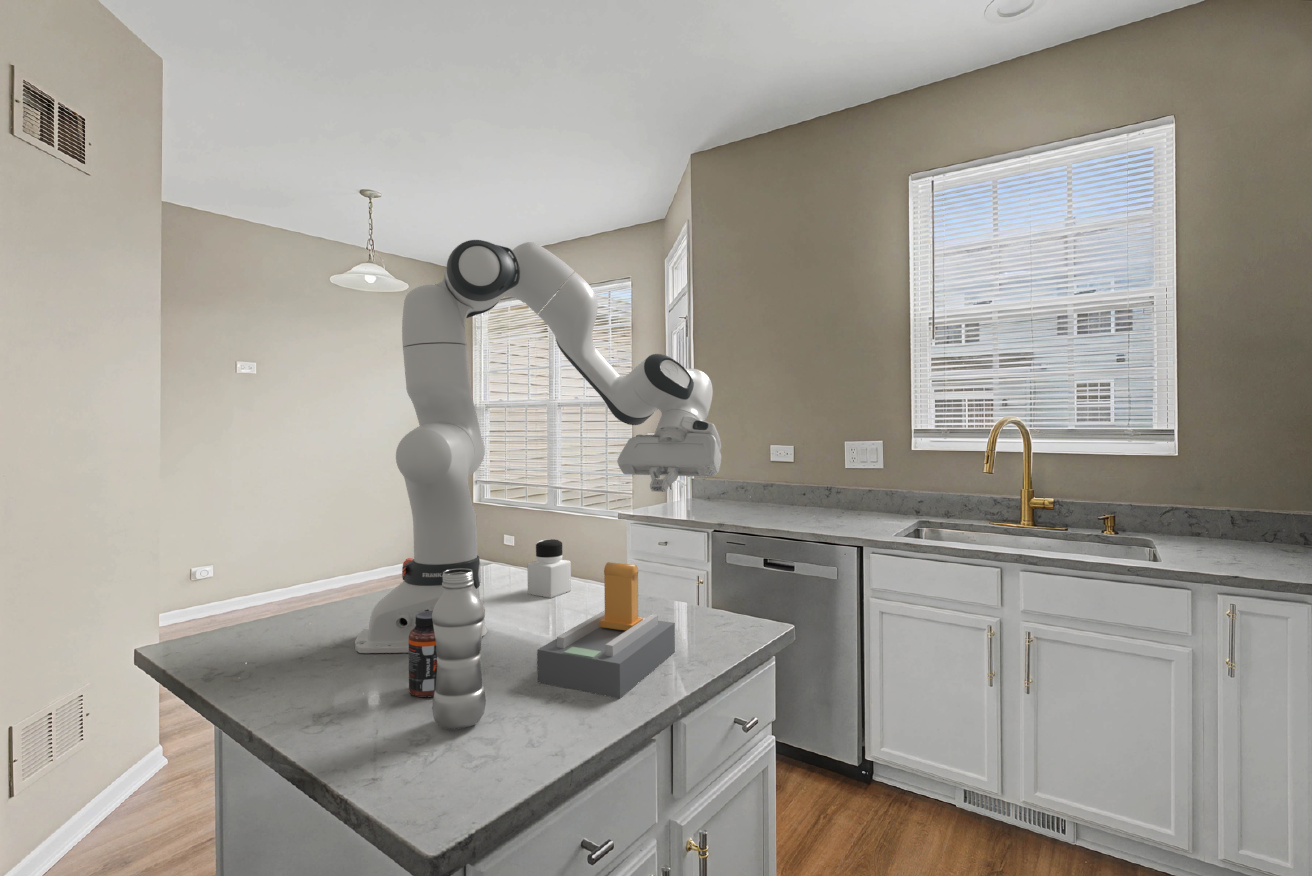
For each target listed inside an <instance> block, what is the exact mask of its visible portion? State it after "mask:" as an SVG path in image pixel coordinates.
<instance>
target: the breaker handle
mask: <svg viewBox="0 0 1312 876" xmlns="http://www.w3.org/2000/svg"><path fill="white" fill-rule="evenodd" d="M603 575H604V582H603V583H604V585H603V586H604V587H603V588H604V610H605V618H604V619H602V620H600V627H604V628H611V629H618V630H625V631H627V630H628V629H630V628H631V627H633V626H634V625H636V624H638V623H639V622H641V621H642V620H643V618H644V617H640V618H638V617H639V567H638V565H637V564H630V563H629V564H628V563H621V562H618V563H617V562H609V561H608V562H606V563H605V565H604V568H603Z"/></svg>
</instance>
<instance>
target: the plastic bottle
mask: <svg viewBox="0 0 1312 876" xmlns="http://www.w3.org/2000/svg"><path fill="white" fill-rule="evenodd" d="M473 585H474V580H473V572H472V570H471V569H451V570H447V571H444V572H443V582H442V587H443V588H445V590H444V593H443V594H442V595H441V597H440V598H439V600H438V601H437V603H436V605H435V607H434V609H433V613H432V620H433V627H434V633H435V639H436V651H437V676H436V688H435V689H436V690H435V692H434V696H433V698H432V706H431V710H432V715H433V719H434V721H435V723H436V724H437V725H438V727H440V728H442V729H445V730H462V729H466V728H470V727H472V726H474V725H476V724H478V723H479V722H480V720H481V719H482V717H483V716H484V714H485V710H486V704H487V698H486V691H485V688H484V684H483V673H482V662H481V658H482V656H481V655H482V653H481V650H482V637H483V636H482V631H483V624H484V620H485V616H486V609H485V605H484V603H483V601H482V599H481V597H480V598H479V597H478V595H477V594H476V593H475V592H474V591H473V590H472V587H471V586H473Z"/></svg>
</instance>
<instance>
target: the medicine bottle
mask: <svg viewBox="0 0 1312 876" xmlns="http://www.w3.org/2000/svg"><path fill="white" fill-rule="evenodd" d="M535 559H536V560H534V561H532V562H528V563H527V572H526V573H527V594H528V595H531V594H532V596H537V597H542V596H543V598H547V597H548V598H547V599H552V597H553V598H555V596H556V597H558V596H561V595H564V594H567V593H570V592H571V591H572V574H571V573H572V566H571V564H572V563H571V561H570V560H568V559H567V560H566V559H563V542H562V541H560V540H559V539H552V538H549V539H548V538H547V539H542V540H539V541H536V543H535ZM569 579H571V580H569ZM566 592H567V593H566Z"/></svg>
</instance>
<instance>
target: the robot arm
mask: <svg viewBox="0 0 1312 876" xmlns="http://www.w3.org/2000/svg"><path fill="white" fill-rule="evenodd" d="M442 278H443V279H442V280H441V281H440V282H438V283H435V284H425V285H419V286H417V287H415V288H413V289H411V290H410V291H408V293H407V294H406V295H405V297H404V300H403V301H404V302H403V309H402V321H401V326H402V327H401V337H402V339H401V340H402V352H403V362H404V363H403V365H404V366H403V367H404V377H405V386H406V387H405V388H406V392H407V395H408V397H409V399H410V400H411V403H412V405H413V407H414V408H413V409H414V410H415V413H416V417H417V421H418V423H419V426H417V427H415V428H413V429H412V430H411V431H409V432H408V433H406V434H405V435H404V436H403V437H402V438H401V440H400V441H399V443H398V445H397V447H396V451H395V462H396V466H397V468H398V470H399V472H400V474H401V475H402V477H403V478H404V481H405V487H406V491H407V495H408V500H409V505H410V508H411V514H412V522H413V523H412V524H413V558H411V557H408V558H406V559H405V560H404V562H403V563H402V568H401V569H402V570H401V573H402V574H401V577H402V580H403V581H402V582H401V583H400V584H398V585H397V586H396V587H395V588H394V589H392V590H391V591H389V592H388V593H387V594H386V595H384V597H382V598H381V599H380V600H379V601H378V602H377V603H376V604H375V606H374V607H373V609H372V611H371V615H370V618H369V622H368V623H369V624H368V627H366V628H364V629H363V630H362V631H361V632H360V633H358V635H357V636H356V638H355V641H354V649H355V651H356V652H358V653H360V654H384V653H385V654H387V653H389V654H391V653H393V654H397V653H398V654H399V653H404V654H405V653H409V633H410V632H411V630H413V629H414V628H415V626H416V624H415V620H416V618H415V617H416V615H417V614H418V613H421V612H425V611H433V609H434V607H435V605H436V603H437V601H438V600H439V598H440V597H441V595H442V594H443V593H444V590H445V588H443V587H442V582H443V572H444V571H447V570H451V569H471V570H472V572H473V580H474V585H473V586H471V587H472V590H473V591H474V592H475V593H476V594H477V595H478V597H479V598H480V599H481V596H480V586H481V574H482V573H481V561H480V556H479V555H478V533H477V532H478V526H477V523H478V521H477V512H476V509H475V508H474V505H473V500H472V496H471V491H470V486H469V477H470V476H471V475H473V474H474V473H475V472H476V471H477V470H478V469H479V467H480V466H481V464H482V462H483V461H484V458H485V455H486V454H485V453H486V447H485V443H484V440H483V438H482V434H481V429H480V423H479V418H478V415H477V411H476V407H475V404H474V399H473V394H472V388H471V379H470V371H469V370H470V369H469V358H468V347H467V337H466V336H467V335H466V322H467V321H466V320H467V319H468V318H471V317H474V316H478V315H480V314H484V313H486V312H488V311H490V310H492V309H493V308H494V307H496V306H497V305H498V303H499V301H500V300H501V299H502V298H504V297H505V298H506V297H510V298H514V299H517V300H519V301H520V302H522V303H523V304H526V306H527V307H529V308H530V310H532V311H533V312H534V313H535V314H536V315H537V316H538V317H539V318H541V320H542V321H544V323H545V324H546V325H547V326H548V327H549V330H551V332H552V333H553V335H554V337H555V341H556V344H557V347H558V349H559V351H560V352H561V354H563V355H564V357H565V358H566V359H567V360H568V362H569V363H570V364H571V365H572V366H573V367H574V368H575V369H576V370H577V372H578V374H580V375H581V376H582V377H583V378H584V380H586V382H587V383H588V384H589V385H590V386H591V387H592V388H593V389H594V390H595V392H596V393H597V394H598V395H599V397H600V398H601V399H602V400H603V401H604V403H605V404H606V406H607V408H608V409H609V411H610V412H611V413H612V415H613V416H614V417H615V418H616V419H617V420H618V421H619V422H621V423H624V424H626V425H630V426H640V425H642V424H644V423H645V422H646V421H647V420H648V419H649V418H650V417H651V416H653V414H654V413H655V412H657V411H658V410H659V411H660V412H661V415H660V418H659V421H658V424H657V425H656V428H655V432H654V434H637V435H636V436H633V437H631V438H629V439H628V440H627V442H626V444H625V445H624V447H623V449H622V450H621V452H620V454H619V456H618V457H617V460H616V462H617V465H618V467H619V469H620V471H621V472H622V474H624V475H626V476H627V475H629V476H631V475H634V476H635V475H636V476H637V475H638V476H649V477H650V478H651V481H650V484H649V488H650V490H651V492H659V493H667V492H668V489H669V486H671V485H672V484H674V483H675V481H677V479H678V477H702V478H704V477H706V478H707V477H708V478H713V477H715V476H716V475H717V474H718V473H719V471H720V468H721V464H722V453H721V450H722V442H721V441H722V440H721V437H720V435H719V432H718V430H717V427H716V426H715V424H714V423H712V422H709V421H706V420H707V417H708V415H709V412H710V410H711V407H712V406H711V405H712V401H713V394H714V389H713V384H712V381H711V379H710V377H709V376H708V375H707V374H706V373H705V372H703V371H702V370H700V369H697V368H685V367H684V366H683V365H682V364H681V363H679V362H678V361H677V360H675V359H674V358H672V357H670V356H668V355H666V354H661V353H653V354H651V355H649V356H648V357H646V358H645V359H644V360H642V361H641V362H640V363H638V365H636V366H635V367H634V369H632V370H631V371H630V372H629V373H628V374H627V375H625V376H624V375H621V374H619V373H618V372H617V371H616V370H615V368H614V367H613V366H612V365H611V364H610V363H609V362H608V361H607V360H606V359H605V357H604V356H603V355H602V354H601V353H600V351H599V350H598V349H597V348H596V346H595V343H594V339H593V332H594V331H593V330H594V326H595V323H596V320H597V316H598V300H597V299H598V298H597V294H596V292H595V291H594V290H593V288H592V286H591V285H590V284H589V283H588V282H587V281H586V280H585V279H584V278H583V277H582V276H581V275H580V274H579V273H577V271H575V270H574V269H573V268H572V267H571V266H570V265H568V264H567V263H566V262H565V261H564V260H563V259H561V258H559V257H558V256H557V255H555V254H554V253H552V252H551V251H550V250H549V249H546V248H545V247H543V246H541V245H540V244H539V243H536V242H534V241H533V242H532V241H530V242H529V241H528V242H524V243H521V244H519V245H517V246H516V247H515V248H513V249H511V248H509V247H506V246H503V245H502V246H501V245H498V244H495V243H492V242H489V241H486V240H481V239H469V240H465V241H464V242H461V243H460V244H458V245H457V246H456V247H455V248H454V249H453V250H452V251H451V252H450V254H449V256H448V259H447V262H446V268H445V272H444V275H443V277H442ZM661 476H665V477H664V478H662V479H660V477H661ZM487 632H488V626H487V624H486V621H485V619H484V624H483V631H482V637H483V636H485V635H486V634H487Z"/></svg>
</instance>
